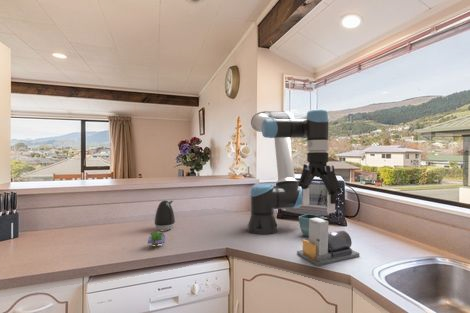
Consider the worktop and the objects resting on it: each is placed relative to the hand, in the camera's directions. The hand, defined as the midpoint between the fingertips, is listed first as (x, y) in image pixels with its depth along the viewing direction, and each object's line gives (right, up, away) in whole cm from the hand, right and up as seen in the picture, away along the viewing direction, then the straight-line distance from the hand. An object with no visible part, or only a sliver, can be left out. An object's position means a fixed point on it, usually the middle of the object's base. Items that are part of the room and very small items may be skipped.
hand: (317, 208), depth 92 cm
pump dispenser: (-67, -19, +36) cm, 79 cm away
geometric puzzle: (-64, -19, +12) cm, 68 cm away
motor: (+5, -18, +2) cm, 19 cm away
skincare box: (0, -16, 0) cm, 16 cm away
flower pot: (+5, -18, +25) cm, 31 cm away
